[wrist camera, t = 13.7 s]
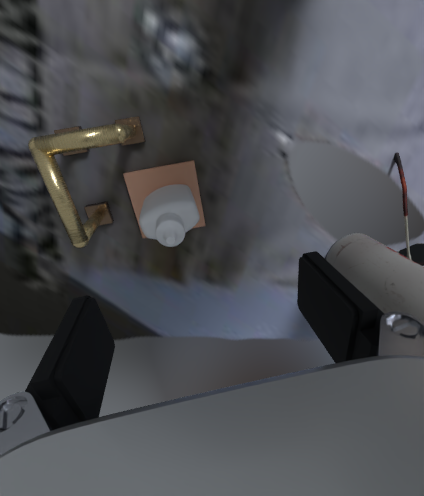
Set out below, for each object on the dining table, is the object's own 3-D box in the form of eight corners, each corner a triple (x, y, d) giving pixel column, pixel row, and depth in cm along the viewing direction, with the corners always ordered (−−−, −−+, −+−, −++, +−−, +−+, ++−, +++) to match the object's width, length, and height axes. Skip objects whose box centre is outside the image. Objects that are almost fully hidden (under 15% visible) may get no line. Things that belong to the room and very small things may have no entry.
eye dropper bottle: (188, 220, 32) (200, 269, 21) (142, 213, 30) (129, 261, 20) (195, 186, 30) (212, 219, 19) (147, 176, 29) (135, 207, 18)
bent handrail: (56, 130, 26) (10, 132, 18) (139, 116, 27) (128, 113, 19) (93, 224, 31) (69, 258, 23) (162, 210, 31) (161, 239, 24)
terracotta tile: (123, 172, 29) (122, 173, 28) (193, 160, 29) (194, 160, 29) (143, 236, 32) (142, 238, 32) (204, 224, 33) (205, 225, 32)
